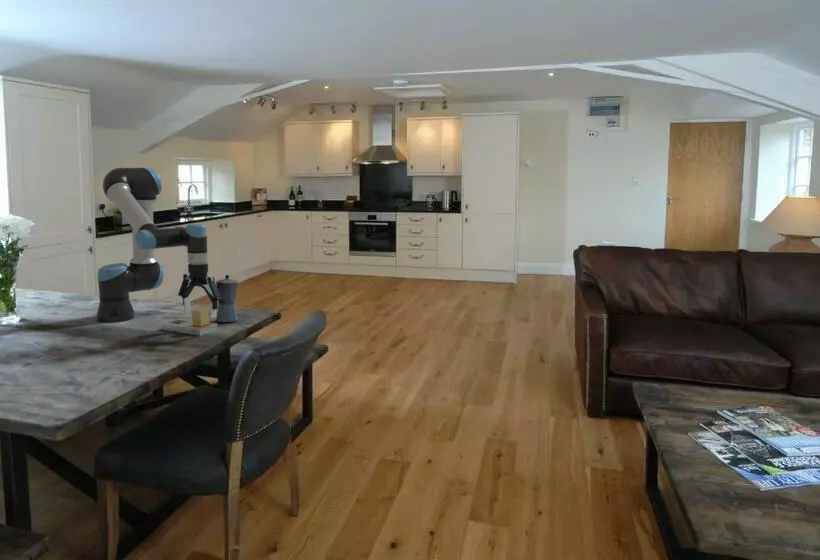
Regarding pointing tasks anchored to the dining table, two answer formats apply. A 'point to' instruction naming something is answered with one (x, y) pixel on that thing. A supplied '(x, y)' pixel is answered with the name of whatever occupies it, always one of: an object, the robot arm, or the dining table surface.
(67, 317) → the dining table surface
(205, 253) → the robot arm
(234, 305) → the moka pot
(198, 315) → the tan rectangular block
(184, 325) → the grey shape sorter board
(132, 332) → the dining table surface
